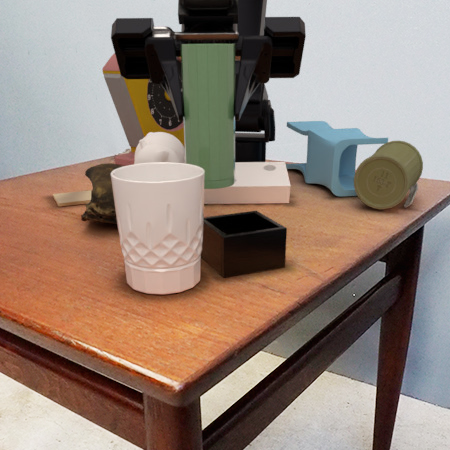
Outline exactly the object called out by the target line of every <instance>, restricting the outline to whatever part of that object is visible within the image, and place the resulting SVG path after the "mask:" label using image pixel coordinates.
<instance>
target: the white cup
mask: <svg viewBox="0 0 450 450" xmlns="http://www.w3.org/2000/svg"><path fill="white" fill-rule="evenodd" d="M111 181H112V189H113V196H114V203H115V211H116V218H117V224H116V225H117V232H118V236H119V244H120V250H121V253H122V255H123V262H124V263H123V264H124V270H125V278H126V283H127V285H128V286H129V287H130V288H132V290H134V291H136V292H140V293H144V294H147V295H148V294H149V295H170V294H176V293H182V292H185V291H187V290H190V289H192V288H194V287H195V286H196V285H197V284H199V282H200V281H201V262H202V261H201V259H202V257H201V252H202V242H203V223H204V217H205V216H204V214H205V204H204V181H205V170H204V169H203V168H201V167H199V166H196V165H192V164H185V163H174V162H152V163H140V164H133V165H127V166H123V167H120V168H117V169H115V170H113V171H112V172H111Z"/></svg>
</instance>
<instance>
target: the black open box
mask: <svg viewBox="0 0 450 450" xmlns="http://www.w3.org/2000/svg"><path fill="white" fill-rule="evenodd" d="M287 231H288V227H286V226H284V225H282V224H281V223H279V222H277V221H275V220H273V219H272V218H270V217H269V216H267V215H265V214H263V213H261V212H260V211H258V210H251V211H249V210H248V211H243V212H235V213H226V214H220V215H211V216H204V223H203V242H202V252H201V259H203V260H204V261H205V262H206V263H207V264H208V265H209V266H210V267H211V268H212V269H213V270H215V271H216V272H217V273H218V274H219V275H220V276H222V278H231V277H236V276H243V275H247V274H255V273H260V272H267V271H271V270H277V269H282V268H283V269H284V268H286V256H287V255H286V254H287V235H288V234H287V233H288V232H287Z"/></svg>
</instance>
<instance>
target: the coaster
mask: <svg viewBox="0 0 450 450" xmlns="http://www.w3.org/2000/svg"><path fill="white" fill-rule="evenodd" d="M91 191H92V189H89V190H78V191H68V192H57V193H52V198H53V199H54V201H55V203H56V206H57V207H59V208H61V207H68V206H78V205H79V206H80V205H86V204H88V203H89V202H90V201H91Z"/></svg>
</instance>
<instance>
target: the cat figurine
mask: <svg viewBox="0 0 450 450" xmlns="http://www.w3.org/2000/svg"><path fill="white" fill-rule="evenodd" d="M152 162H174V163H185V148H184V146H183V145H182V143H181V142H180V141H179V140H178V139H177V138H176V137H175V136H173V135H171V134H169V133H165V132H155V133H153V132H149V133H148V134H147V135H146V136H145V137H144V138H143V139H141V140H140V141H139V144H138V146H137V148H136V151H135V161H134V164H140V163H152Z"/></svg>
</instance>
